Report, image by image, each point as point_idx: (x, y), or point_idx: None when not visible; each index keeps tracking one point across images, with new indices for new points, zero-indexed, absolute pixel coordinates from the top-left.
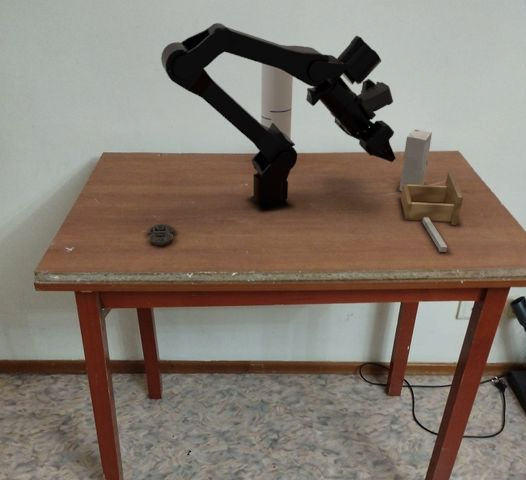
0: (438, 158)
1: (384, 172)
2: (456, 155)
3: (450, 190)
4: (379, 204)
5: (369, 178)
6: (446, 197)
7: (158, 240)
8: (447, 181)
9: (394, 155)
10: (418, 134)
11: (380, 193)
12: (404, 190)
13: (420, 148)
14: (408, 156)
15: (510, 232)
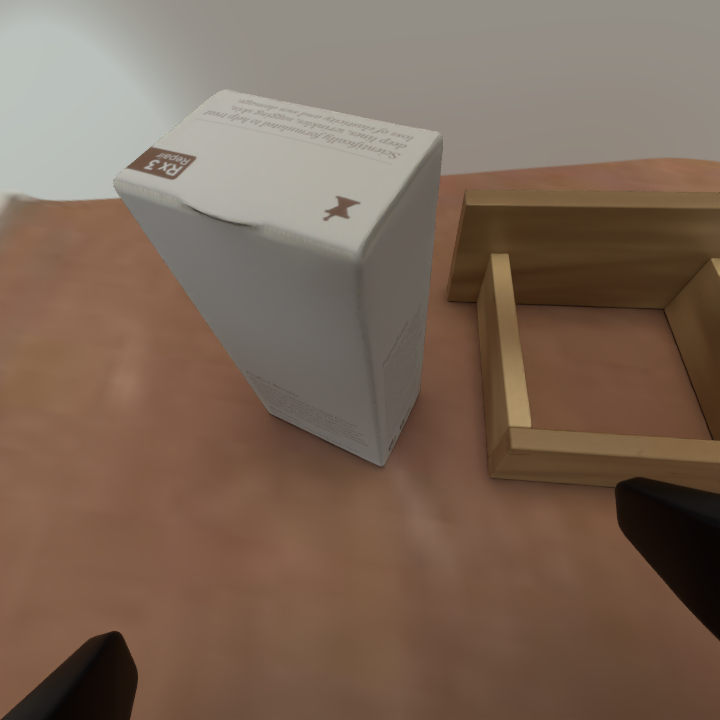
0: (45, 255)
1: (114, 510)
2: (45, 204)
3: (594, 241)
4: (594, 629)
5: (179, 631)
6: (526, 280)
7: None
8: (493, 236)
9: (693, 489)
10: (292, 158)
11: (419, 591)
12: (599, 457)
13: (423, 228)
14: (387, 347)
15: (682, 175)
